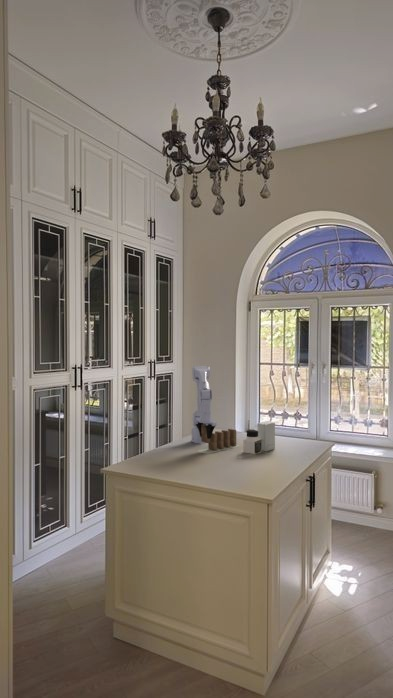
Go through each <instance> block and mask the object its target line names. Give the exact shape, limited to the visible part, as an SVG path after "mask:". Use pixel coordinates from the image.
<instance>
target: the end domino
mask: <svg viewBox="0 0 393 698" xmlns="http://www.w3.org/2000/svg"><path fill="white" fill-rule="evenodd" d="M205 426H206V425H204V424H203V425H201V442H205V443H204V444H208V443H210V439H207V431H206V428H205Z"/></svg>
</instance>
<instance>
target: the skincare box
mask: <svg viewBox="0 0 393 698" xmlns="http://www.w3.org/2000/svg"><path fill="white" fill-rule="evenodd" d="M257 431H258V438H260V439H261V451H263V452H269V451H272V450H275V449H276V422H273V421H270V420H265V421H260V422H257Z"/></svg>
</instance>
